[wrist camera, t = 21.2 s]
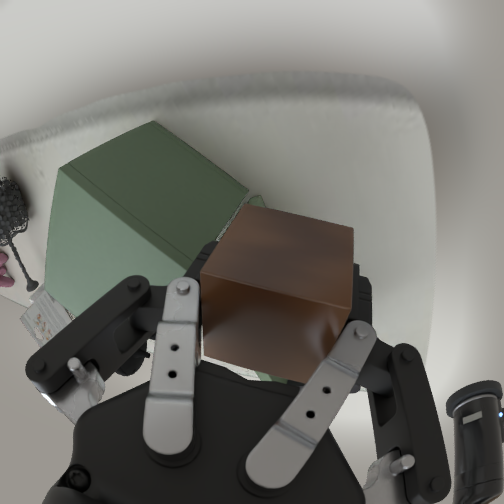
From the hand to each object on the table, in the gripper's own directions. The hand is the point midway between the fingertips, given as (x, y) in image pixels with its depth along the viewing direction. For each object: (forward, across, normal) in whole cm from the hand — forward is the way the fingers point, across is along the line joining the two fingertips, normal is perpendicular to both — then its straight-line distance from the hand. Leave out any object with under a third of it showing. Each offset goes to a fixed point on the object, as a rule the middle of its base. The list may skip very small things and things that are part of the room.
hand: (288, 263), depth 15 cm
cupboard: (+12, +14, +7) cm, 20 cm away
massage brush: (+13, +42, +13) cm, 46 cm away
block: (0, 0, 0) cm, 0 cm away
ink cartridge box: (+13, +42, +33) cm, 54 cm away
